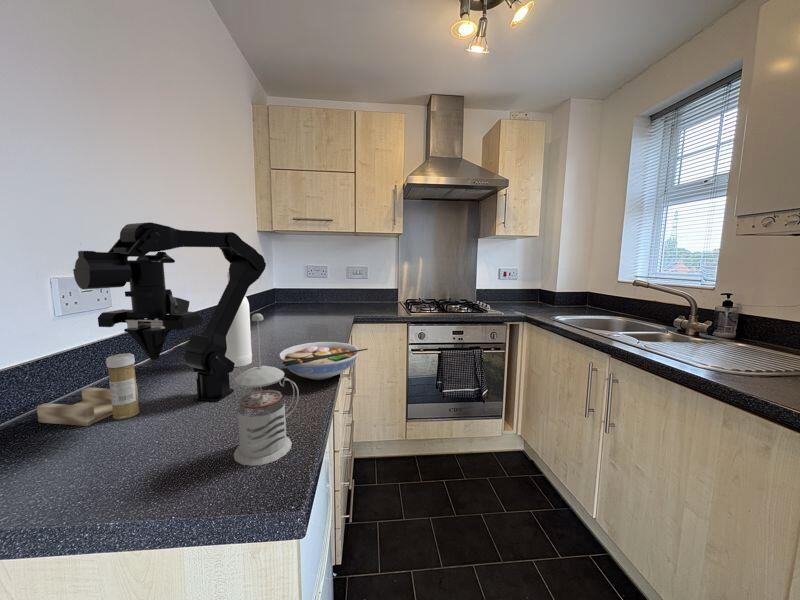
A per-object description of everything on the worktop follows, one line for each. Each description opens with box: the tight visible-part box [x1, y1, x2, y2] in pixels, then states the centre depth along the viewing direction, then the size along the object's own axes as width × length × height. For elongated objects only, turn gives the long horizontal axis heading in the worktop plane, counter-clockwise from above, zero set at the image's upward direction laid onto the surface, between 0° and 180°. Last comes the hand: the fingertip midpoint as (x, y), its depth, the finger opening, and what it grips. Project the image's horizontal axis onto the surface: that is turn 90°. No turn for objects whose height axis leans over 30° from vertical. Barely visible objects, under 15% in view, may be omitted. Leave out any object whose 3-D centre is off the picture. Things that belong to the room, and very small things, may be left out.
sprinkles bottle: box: [105, 353, 140, 421], centre depth 69 cm, size 5×5×14 cm
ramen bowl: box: [278, 341, 369, 381], centre depth 95 cm, size 25×23×8 cm
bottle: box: [225, 271, 253, 368], centre depth 104 cm, size 8×8×30 cm
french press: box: [233, 313, 300, 467], centre depth 58 cm, size 10×12×25 cm
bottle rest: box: [36, 387, 113, 427], centre depth 71 cm, size 12×10×4 cm
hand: (154, 359), depth 68 cm, fingers closed
